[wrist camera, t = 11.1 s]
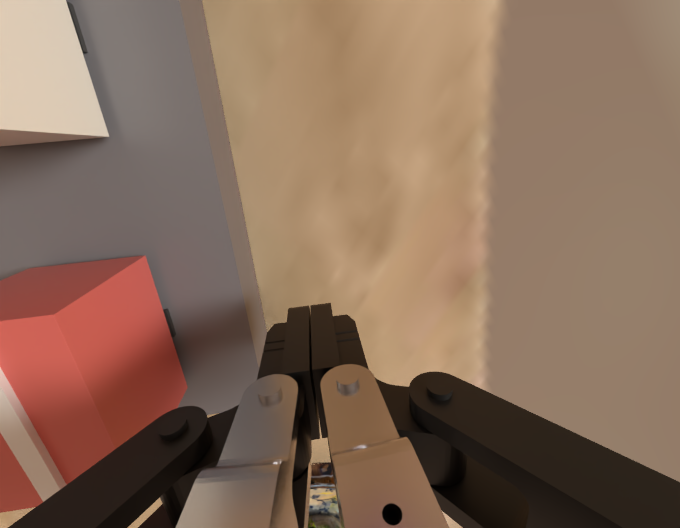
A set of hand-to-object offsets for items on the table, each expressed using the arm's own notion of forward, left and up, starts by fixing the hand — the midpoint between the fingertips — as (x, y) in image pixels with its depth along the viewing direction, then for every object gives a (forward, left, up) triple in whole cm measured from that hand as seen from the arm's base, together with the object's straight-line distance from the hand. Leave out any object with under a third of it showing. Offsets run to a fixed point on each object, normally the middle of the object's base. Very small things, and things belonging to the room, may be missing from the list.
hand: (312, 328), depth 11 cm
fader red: (0, -8, -2) cm, 8 cm away
